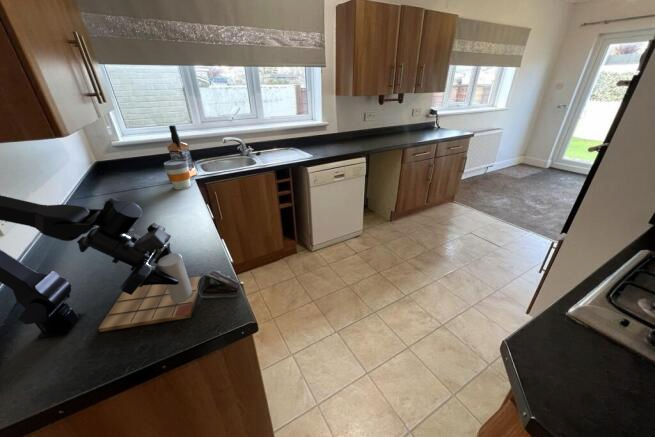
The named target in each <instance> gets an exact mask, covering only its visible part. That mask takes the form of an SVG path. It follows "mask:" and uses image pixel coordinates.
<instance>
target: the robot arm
mask: <svg viewBox="0 0 655 437" xmlns="http://www.w3.org/2000/svg"><path fill="white" fill-rule="evenodd" d="M142 216H143V209H142V208H141V207H140V206H139V205H138V204H137V203H135V202H133V201H129V200H124V199H116V198H114V197H110V198H109V199H108V200H106V201H105V203H104V204H103V207H102V209H101V208H87V207H84V206H80V205H74V204H64V203H63V204H41V203H36V202H31V201H27V200H23V199H19V198H14V197H9V196H5V195H1V194H0V221H2V222H8V223H13V224H17V225H22V226H27V227H30V228H34V229H35V230H37V231H38V232H39V233H40V234H42V235H44V236H45V237H46V236H47V237H49V238H53V239H57V240H59V241H63V242H72V241H74V240H76V239H78V238H79V239H78V240H77V241H76V243H77V244H78V249H79V251H80V253H85V252H86V251H87V250H88V249H89V248H91V249H93V250H96V251H97V252H99V253H102V254H105V255H106V256H109V257H110V258H112V261H111V262H112V263H114V264H116V265H117V264H118V262H122V263H124V264H126V265H128V266H130V267H131V268H130V269H129V270H130V271H131V272H130V273H129V275H128V276H126V278H125V279H124V281H123V283H122V285H120V289H121V291H122V292H125V293H127V294H130V295H132V294H133V293H134V291H135V290H136V289H137V288H138V287H142V286H143V285H177V284H178V283H179V281H178V280H177V279H175V278H174V277H172V276H170V275H168V274H166V273H164V272H162V271H161V270H160V269H159V266H158V261H159V260H160V259H161V258H162V257H164V256H166V255H169V254H173V252H172V251H171V243H170V242H169V240H170V239H171V238H172V235H171V234H169V233H167V232H165V231H166V227H165V226H162V225H160V224H158V223H156V222H153V223H151V224H150V225H149V226H147V228H146V231H147V232H145V234H144V235H142V236H140V235H138V234H132V235H131V236H129V235H127V234H128V233H130V231H131V230H132V229H133V228H134V226H135V225H136V223H137V222H138V221H139V220H140V218H141V217H142ZM96 226H97V227H96ZM85 234H86V236H85ZM82 235H84V236H82ZM166 243H167V244H166ZM153 260H154V261H153ZM152 262H153V264H154V266H152V265H151V263H152ZM68 281H69V279H68V278H65V277H63V276H61V275H60V274H59V273H57V271H54V270H50V271H49V272H48V273H45V272H37V271H35V270H34V269H32V268H30V267H29V266H27V265H25V264H24V263H22V262H21V261H20V260H18V259H16V258H15V257H13V256H12V255H10V254H8V253H7V252H5V251H4V250H2V249H1V248H0V283H1V284H3V285H4V286H6V287H8V288H9V289H10V290H12V293H13V295H14V297H15V300H16V302H17V304H19V305H20V306H22V307H23V308H25V309H24V310H23V312H21V314H20V315H19V317H18V318H17V320H18V321H19V322H20V323H22V324H24V325H32V324H35V325H36V327H37V328H38V329H39V331H40V333H39V335H38V336H36V337H37V339H38V340H42V339H49V338H54V337H59V336H61V337H62V336H66V335H68V334H69V333H70V331H71V330H72V329H73V327H74V326H75V325H76V324H77V323H78V321H79V320H80V318H81V317H82V314H80V313H78V314H77V313H76V312H75V311H74V309H73V308H72V307H70V306H69V304H68V303H66V301H67V300H68V299H69V298H70V297H71V293H72V285H71V283H70V282H68Z"/></svg>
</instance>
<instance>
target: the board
mask: <svg viewBox="0 0 655 437" xmlns="http://www.w3.org/2000/svg"><path fill="white" fill-rule="evenodd" d="M188 278H189V281H190V284H191V287H192V290H193V295H192V296H191V297H190V298H189V299H188V300H186V301H183V302H179V303H176V302H173V301H172V300H171V297H170V295H169V292H168V290H167V287H166V285H143V286H142V287H138V288H137V289H136V290H135V291H134V293H133V294H132V295H130V294H127V293H125V292H123V291H122V292H121V293H120V295H119V297H118V298H117V300H116V301H115V302H114V304H113V306H112V307H111V309H110V310H109V312H107V315H106V316H105V318H103V320H102V322H101V324H99V326H98V328H97V330H98V332H99V333H102V332H109V331H116V330H121V329H127V328H134V327H140V326H146V325H152V324H159V323H164V322H165V323H166V322H170V321H178V320H184V319H191V318H192V315H193V312H194V308H195V305H196V303H197V300H198V297H199V294H198V289H197V286H198V281H199V279H200V278H201V275H200V276H194V277H188Z"/></svg>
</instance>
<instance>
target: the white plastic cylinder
mask: <svg viewBox="0 0 655 437" xmlns="http://www.w3.org/2000/svg"><path fill="white" fill-rule="evenodd" d="M157 265H158V267H159V269H160V270H161V271H162V272H164V273H166V274H168V275H170V276H172V277H174V278H175V279H177V280H178V281H179V283H178V284H177V285H166V287H167V290H168V292H169V295H170V297H171V300H172V301H173V302H176V303H179V302H183V301H186V300H188V299H189V298H190V297H191V296H192V295H193V290H192V287H191V284H190V281H189V278H190V277H189V275H188V271H187V269H186V266H185V263H184V260H183V257H182V255H181V254H180V253H172V254H169V255H166V256H164V257H162V258H161V259H160V260H159V261H158V264H157Z"/></svg>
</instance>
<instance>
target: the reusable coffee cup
mask: <svg viewBox="0 0 655 437" xmlns="http://www.w3.org/2000/svg"><path fill="white" fill-rule="evenodd" d="M188 166H189V165H188V162H187V160H185V159H177V160H171V159H170V160H168V161H165V162H163V168H164V170H165V172H166V175H167V178H168V180H169V182H170V183H171V184H172V186H173V189H174V190H185V189H188V188H190V187H191V186H192V185H191V177H190V171H189V169H188Z"/></svg>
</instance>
